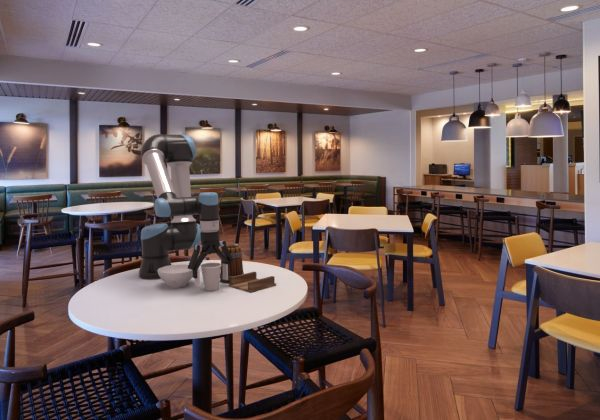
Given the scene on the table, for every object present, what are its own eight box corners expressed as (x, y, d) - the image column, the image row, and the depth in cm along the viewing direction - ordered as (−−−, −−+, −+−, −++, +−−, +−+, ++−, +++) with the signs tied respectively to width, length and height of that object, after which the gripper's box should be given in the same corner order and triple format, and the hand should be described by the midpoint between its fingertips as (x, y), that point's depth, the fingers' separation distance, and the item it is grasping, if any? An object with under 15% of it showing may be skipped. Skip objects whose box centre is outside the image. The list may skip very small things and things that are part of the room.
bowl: (161, 292, 175) (161, 275, 175) (155, 283, 190) (154, 267, 189) (201, 286, 183) (201, 270, 182) (192, 278, 197) (191, 262, 196)
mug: (239, 284, 186) (238, 249, 185) (216, 283, 188) (215, 248, 187) (250, 274, 202) (250, 242, 200) (229, 274, 204) (228, 242, 202)
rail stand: (228, 286, 183) (228, 277, 183) (254, 279, 193) (254, 271, 193) (250, 292, 173) (250, 283, 173) (276, 285, 183) (276, 276, 183)
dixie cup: (199, 287, 182) (198, 263, 181) (219, 285, 185) (218, 261, 184) (203, 292, 174) (202, 268, 173) (224, 290, 177) (223, 265, 176)
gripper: (187, 235, 165) (190, 290, 167) (240, 228, 183) (241, 278, 185) (177, 233, 171) (179, 287, 173) (229, 226, 188) (230, 275, 190)
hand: (211, 282), depth 179 cm, fingers open, 13 cm apart
